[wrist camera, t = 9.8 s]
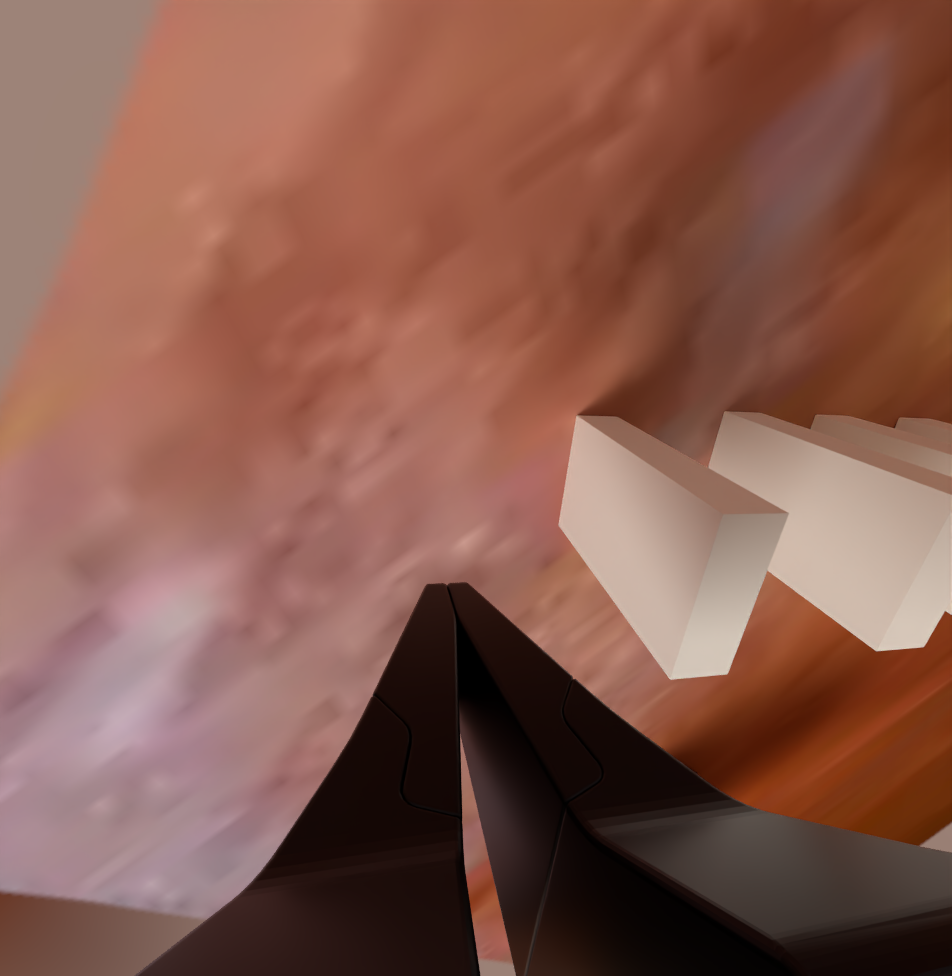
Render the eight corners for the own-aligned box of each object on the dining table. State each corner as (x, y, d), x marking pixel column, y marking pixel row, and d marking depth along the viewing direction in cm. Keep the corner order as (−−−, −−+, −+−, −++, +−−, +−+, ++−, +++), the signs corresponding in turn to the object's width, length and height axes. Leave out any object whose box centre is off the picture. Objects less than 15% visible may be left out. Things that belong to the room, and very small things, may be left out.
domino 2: (726, 515, 20) (923, 647, 12) (693, 515, 19) (876, 651, 12) (760, 412, 18) (1011, 496, 11) (724, 411, 18) (958, 497, 10)
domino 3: (808, 513, 20) (1038, 637, 13) (778, 514, 20) (996, 640, 13) (848, 415, 19) (1137, 495, 12) (815, 414, 18) (1091, 496, 11)
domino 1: (595, 524, 19) (727, 674, 11) (558, 525, 18) (669, 679, 11) (617, 416, 17) (788, 513, 10) (576, 415, 17) (723, 514, 9)
